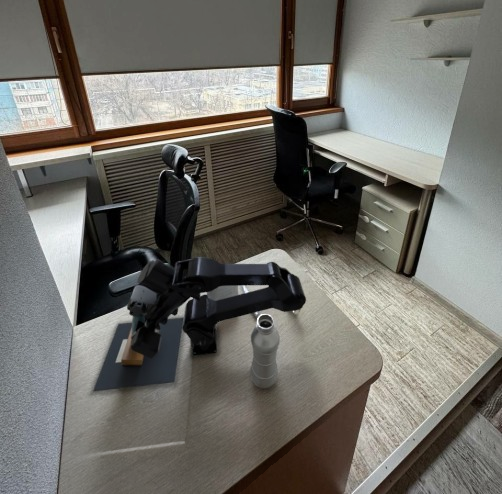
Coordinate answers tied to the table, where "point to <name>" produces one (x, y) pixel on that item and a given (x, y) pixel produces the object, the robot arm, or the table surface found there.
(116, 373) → the desk mat
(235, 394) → the table surface
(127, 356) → the peg on wooden base
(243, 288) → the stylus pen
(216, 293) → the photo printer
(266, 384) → the plastic bottle
